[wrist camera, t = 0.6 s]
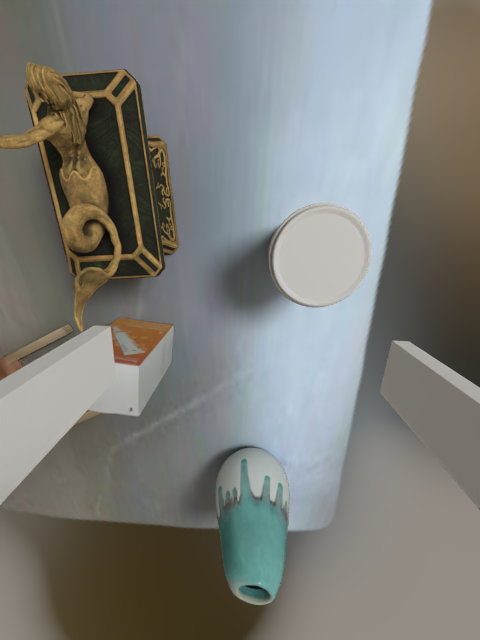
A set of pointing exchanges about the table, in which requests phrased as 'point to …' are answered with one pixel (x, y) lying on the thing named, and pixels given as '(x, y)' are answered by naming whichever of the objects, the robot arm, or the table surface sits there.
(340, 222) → the coffee cup
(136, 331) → the small box
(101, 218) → the decorative box
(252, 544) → the vase
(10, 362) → the keeper seat
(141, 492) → the table surface
